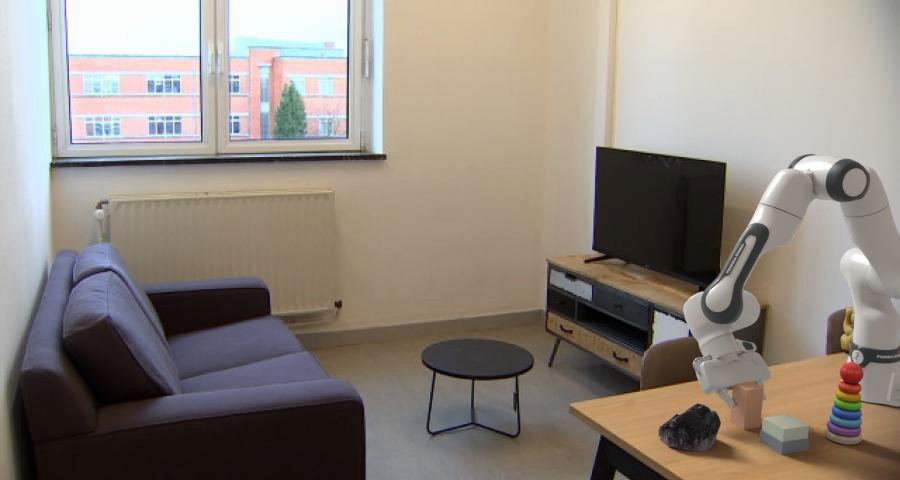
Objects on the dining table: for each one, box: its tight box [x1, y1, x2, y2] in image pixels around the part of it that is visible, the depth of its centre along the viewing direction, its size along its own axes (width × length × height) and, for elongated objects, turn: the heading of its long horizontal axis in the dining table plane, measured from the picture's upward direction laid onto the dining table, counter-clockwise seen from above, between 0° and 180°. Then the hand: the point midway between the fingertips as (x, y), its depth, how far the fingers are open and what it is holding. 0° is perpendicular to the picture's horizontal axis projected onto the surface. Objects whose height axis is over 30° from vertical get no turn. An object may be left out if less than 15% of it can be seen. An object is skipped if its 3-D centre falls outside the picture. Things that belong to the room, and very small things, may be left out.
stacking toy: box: [824, 362, 864, 446], centre depth 203 cm, size 8×8×19 cm
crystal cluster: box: [657, 403, 722, 452], centre depth 202 cm, size 13×14×10 cm
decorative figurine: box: [840, 306, 855, 354], centre depth 268 cm, size 10×8×15 cm
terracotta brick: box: [729, 382, 765, 431], centre depth 212 cm, size 5×5×10 cm
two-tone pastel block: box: [758, 413, 810, 455], centre depth 200 cm, size 8×8×6 cm
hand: (748, 403), depth 211 cm, fingers open, 8 cm apart
